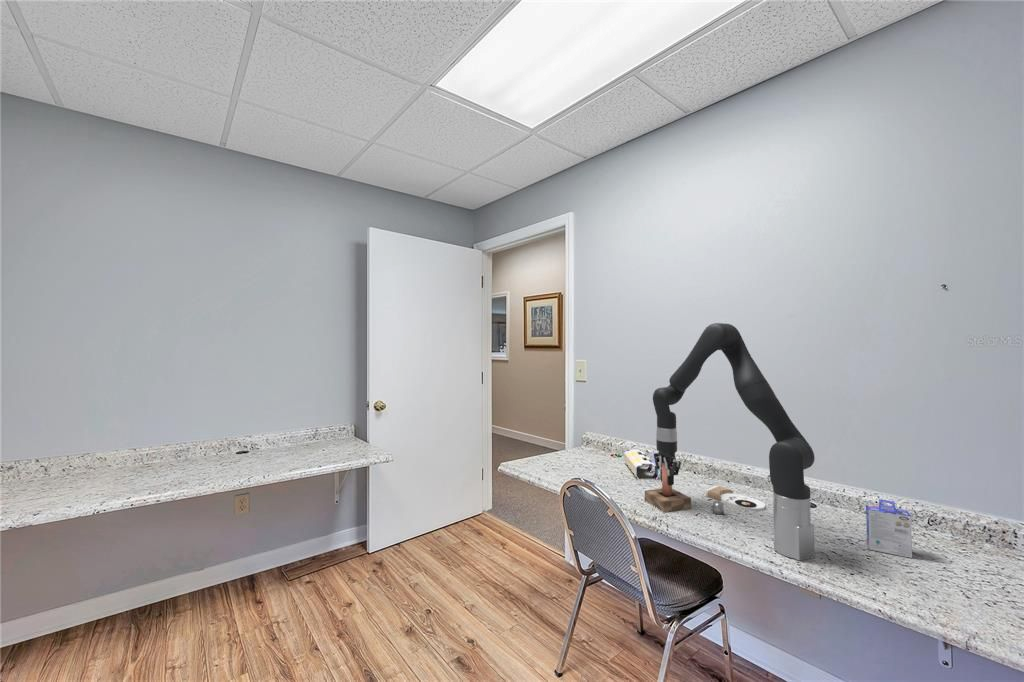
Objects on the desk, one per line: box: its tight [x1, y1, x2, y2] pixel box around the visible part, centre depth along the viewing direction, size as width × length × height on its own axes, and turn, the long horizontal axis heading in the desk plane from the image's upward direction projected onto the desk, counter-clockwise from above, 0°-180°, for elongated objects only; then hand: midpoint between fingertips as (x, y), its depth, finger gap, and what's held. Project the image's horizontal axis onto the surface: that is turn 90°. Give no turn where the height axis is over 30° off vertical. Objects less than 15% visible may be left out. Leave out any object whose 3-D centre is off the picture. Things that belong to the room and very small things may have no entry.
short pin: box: [712, 500, 725, 516], centre depth 152 cm, size 4×4×4 cm
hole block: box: [644, 487, 692, 513], centre depth 161 cm, size 12×12×4 cm
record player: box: [705, 485, 766, 512], centre depth 163 cm, size 12×3×20 cm
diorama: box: [623, 448, 660, 481], centre depth 202 cm, size 25×10×13 cm, turn 177°
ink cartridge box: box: [865, 498, 913, 559], centre depth 125 cm, size 10×6×14 cm, turn 58°
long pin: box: [661, 462, 673, 496], centre depth 161 cm, size 4×4×12 cm
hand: (667, 483), depth 161 cm, fingers closed on long pin, 3 cm apart
